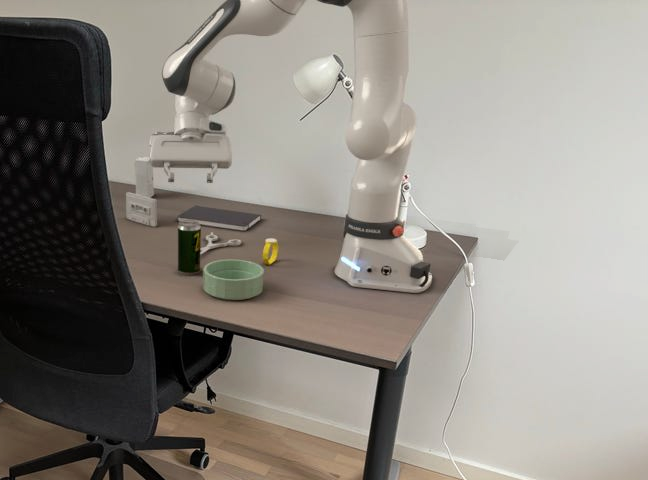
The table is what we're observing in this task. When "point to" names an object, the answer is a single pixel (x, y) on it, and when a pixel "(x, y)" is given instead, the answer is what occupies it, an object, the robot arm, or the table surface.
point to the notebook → (220, 218)
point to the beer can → (189, 247)
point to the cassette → (139, 215)
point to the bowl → (233, 279)
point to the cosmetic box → (144, 177)
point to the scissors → (214, 238)
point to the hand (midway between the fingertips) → (190, 181)
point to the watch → (266, 251)
